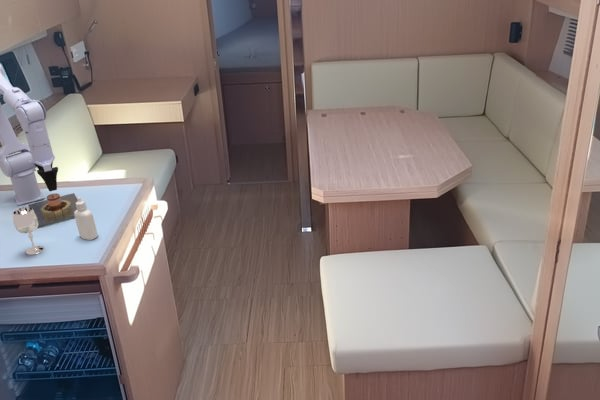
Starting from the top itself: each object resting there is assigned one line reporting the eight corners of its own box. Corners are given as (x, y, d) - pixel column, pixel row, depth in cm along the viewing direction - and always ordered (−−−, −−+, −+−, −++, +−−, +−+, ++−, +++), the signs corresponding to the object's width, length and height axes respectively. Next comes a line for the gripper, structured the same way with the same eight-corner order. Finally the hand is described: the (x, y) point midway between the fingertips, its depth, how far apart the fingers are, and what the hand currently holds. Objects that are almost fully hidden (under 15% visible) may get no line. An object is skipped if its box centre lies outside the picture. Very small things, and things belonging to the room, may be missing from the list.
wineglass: (21, 257, 147) (8, 217, 142) (25, 247, 152) (12, 208, 147) (45, 253, 148) (32, 213, 143) (47, 243, 153) (36, 204, 148)
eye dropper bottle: (95, 230, 159) (85, 192, 153) (99, 238, 154) (89, 199, 149) (79, 234, 157) (68, 196, 152) (82, 242, 152) (72, 203, 147)
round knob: (53, 208, 172) (49, 193, 170) (65, 207, 172) (61, 193, 170) (48, 213, 169) (44, 198, 167) (60, 213, 169) (56, 198, 166)
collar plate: (28, 206, 176) (26, 200, 175) (74, 195, 182) (72, 188, 181) (36, 228, 162) (34, 221, 161) (85, 215, 168) (83, 207, 167)
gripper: (21, 140, 166) (34, 181, 172) (27, 153, 155) (40, 197, 161) (46, 135, 169) (58, 176, 175) (54, 147, 158) (65, 191, 164)
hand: (51, 186), depth 168 cm, fingers open, 7 cm apart
